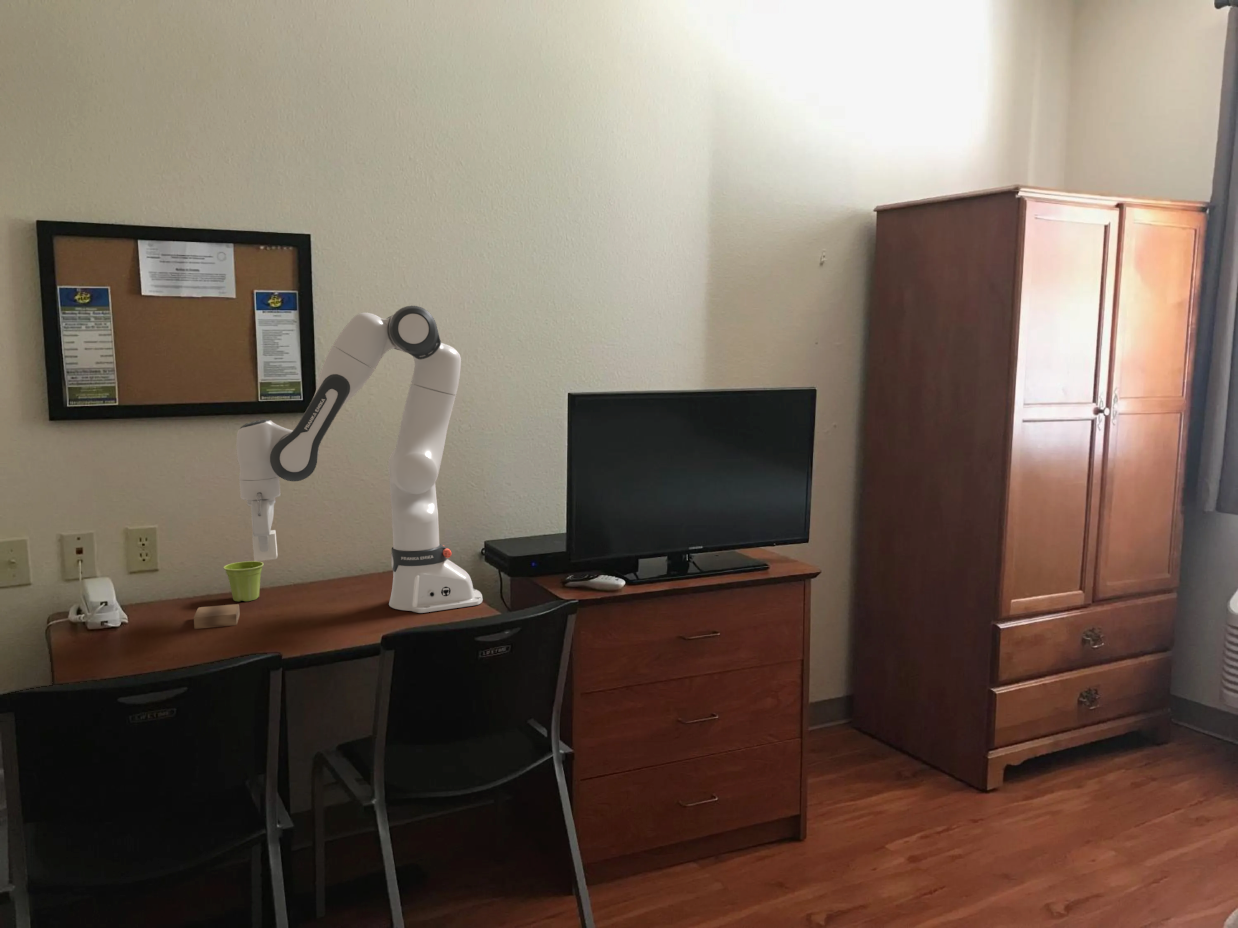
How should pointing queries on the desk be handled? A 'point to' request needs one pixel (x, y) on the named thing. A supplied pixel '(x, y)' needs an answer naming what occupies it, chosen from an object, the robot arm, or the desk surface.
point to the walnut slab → (216, 616)
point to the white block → (271, 551)
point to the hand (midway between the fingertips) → (265, 548)
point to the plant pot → (244, 579)
